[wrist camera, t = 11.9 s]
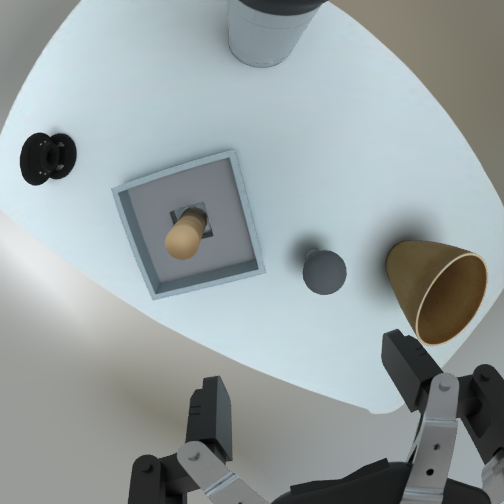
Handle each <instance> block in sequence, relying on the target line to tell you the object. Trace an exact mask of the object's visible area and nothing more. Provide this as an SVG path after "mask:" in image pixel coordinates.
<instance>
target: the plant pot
mask: <svg viewBox="0 0 504 504" xmlns="http://www.w3.org/2000/svg"><path fill="white" fill-rule="evenodd" d="M386 269H387V273H388V276H389V280H390V282H391V285H392V288H393V291H394V293H395V295H396V298H397V300H398V302H399V304H400V306H401V308H402V310H403V312H404V314H405V316H406V318H407V320H408V322H409V324H410V325H411V327H412V329H413V331H414V332H415V334H416V336H417V337H418V339H419V341H420V342H421V343H423V344H424V345H427V346H439V345H442V344H444V343H447V342H448V341H450V340H452V339H453V338H455V337H456V336H457V335H459V334H460V333H461V332H462V331H463V330H464V329H465V328H466V327H467V326H468V325H469V323H470V322H471V321H472V319H473V318H474V316H475V315H476V313H477V312H478V310H479V308H480V306H481V304H482V301H483V299H484V296H485V293H486V289H487V283H488V272H487V266H486V263H485V261H484V260H483V258H482V257H481V256H479V255H478V254H475V253H473V252H470V251H467V250H464V249H461V248H458V247H454V246H451V245H446V244H442V243H436V242H429V241H403V242H400V243H399V244H397V245H396V246H395V247H394V248H393V249H392V250H391V251H390V253H389V255H388V257H387V261H386Z"/></svg>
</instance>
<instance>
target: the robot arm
mask: <svg viewBox="0 0 504 504" xmlns="http://www.w3.org/2000/svg"><path fill="white" fill-rule="evenodd" d="M326 1H328V0H228V34H229V46H230V49H231V51H232V53H233V54H234V55H235V57H236V58H237V59H239V60H240V61H242V62H243V63H245V64H247V65H250V66H254V67H270V66H274V65H277V64H279V63H281V62H282V61H283V60H285V59H286V58H287V56H288V55H289V54H290V52H291V51H292V49H293V47H294V46H295V44H296V43H297V41H298V40H299V38H300V36H301V35H302V33H303V32H304V30H305V29H306V27H307V26H308V24H309V23H310V21H311V20H312V18H313V17H314V15H315V14H316V12H317V10H318V9H319V7H320V6H321V5H322V3H325V2H326ZM381 358H382V363H383V365H384V367H385V369H386V371H387V372H388V374H389V376H390V377H391V379H392V381H393V382H394V384H395V386H396V387H397V389H398V391H399V392H400V394H401V396H402V398H403V399H404V401H405V403H406V405H407V406H408V408H409V410H410V412H414V411H416V410H419V412H420V413H421V414H420V417H419V421H418V425H417V429H416V432H415V436H414V440H413V443H412V447H411V449H410V452H409V454H408V457H407V460H406V462H388V461H387V458H385V459H382V460H379V461H377V462H374V463H372V464H369V465H366V466H363V467H362V468H360V469H358V470H357V471H355V472H353V473H352V474H350V475H348V476H346V477H344V478H342V479H338V480H323V481H312V482H307V483H303V484H298V485H293V486H290V489H291V491H289V492H287V493H285V494H283V495H281V496H280V497H278V498H277V499H275V500H274V501H273V502H272V503H271V504H500V503H502V502H503V501H504V380H503V378H502V377H501V375H500V374H499V373H498V372H497V370H496V369H495V368H494V367H492V366H491V365H488V364H483V365H480V366H478V367H477V368H476V369H475V370H474V372H473V374H472V375H467V376H463V377H455V376H454V375H452V374H450V373H444V372H443V371H442V370H441V369H440V367H439V366H438V365H437V363H436V362H435V361H434V360H433V358H432V357H431V356H430V355H429V353H427V351H426V350H425V348H423V346H422V345H421V343H420V342H419V341H418V340H417V339H415V338H414V337H412V336H410V335H408V336H404V335H403V334H402V333H401V331H400V330H399V329H395V330H393V331H390V332H387V333H384V334H383V340H382V354H381ZM456 418H461V420H462V422H463V424H464V426H465V427H466V429H467V431H468V433H469V435H470V436H471V439H472V440H473V442H474V444H475V446H476V448H477V450H478V452H479V454H480V456H481V458H482V460H483V462H484V464H485V467H484V468H483V470H482V482H483V487H482V489H480V488H477V487H474V486H470V485H467V484H464V483H461V482H458V481H455V480H452V479H450V478H447V476H448V472H449V468H450V464H451V459H452V455H453V450H454V444H455V439H456V434H457V427H458V422H457V421H456ZM231 425H232V422H231V401H230V397H229V395H228V392H227V390H226V388H225V386H224V384H223V381H222V379H221V377H220V376H214V377H207V378H204V379H203V388H202V389H197V390H195V392H194V393H193V395H192V397H191V399H190V409H189V416H188V424H187V433H186V441H185V444H184V445H182V446H181V447H180V448H179V450H178V452H177V453H175V454H173V455H170V456H166V457H163V458H159V459H157V458H156V457H155V456H153V455H143V456H140V457H139V458H138V459H136V460H135V462H134V464H133V467H132V474H131V482H130V490H129V498H128V504H187V492H190V491H194V490H197V489H200V488H201V489H202V490H203V491H204V492H205V495H206V496H207V497H208V498H209V499H210V501H211V502H212V503H213V504H270V503H269V502H268V501H266V500H265V499H264V498H263V497H261V496H260V495H259V494H258V493H257V492H255V491H254V490H253V489H252V488H251V487H250V486H248V485H247V484H246V483H245V482H244V481H243V480H242V479H240V478H239V477H238V476H237V475H236V474H234V473H233V472H232V471H231V470H230V469H228V468H227V467H226V462H227V461H232V426H231Z"/></svg>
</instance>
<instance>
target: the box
mask: <svg viewBox="0 0 504 504" xmlns="http://www.w3.org/2000/svg"><path fill="white" fill-rule="evenodd" d="M111 190H112V193H113V197H114V200H115V203H116V206H117V209H118V212H119V215H120V218H121V221H122V224H123V227H124V230H125V232H126V235H127V238H128V241H129V243H130V246H131V249H132V251H133V254H134V257H135V259H136V262H137V264H138V267H139V269H140V272H141V274H142V277H143V279H144V281H145V284H146V286H147V288H148V291H149V293H150V295H151V298H152V300H156V299H161V298H165V297H169V296H174V295H178V294H182V293H187V292H191V291H195V290H199V289H204V288H208V287H212V286H216V285H220V284H224V283H228V282H232V281H237V280H241V279H245V278H249V277H253V276H257V275H261V274H264V273H266V270H265V266H264V262H263V258H262V254H261V251H260V247H259V243H258V239H257V235H256V231H255V227H254V223H253V219H252V215H251V211H250V207H249V203H248V199H247V195H246V192H245V188H244V184H243V180H242V176H241V172H240V168H239V164H238V161H237V157H236V153H235V149H233V150H229V151H226V152H222V153H218V154H214V155H211V156H207V157H204V158H200V159H197V160H194V161H190V162H187V163H184V164H180V165H177V166H174V167H171V168H168V169H165V170H162V171H159V172H156V173H153V174H150V175H147V176H144V177H142V178H139V179H136V180H133V181H131V182H128V183H125V184H123V185H120V186H117V187H115V188H112V189H111ZM202 202H204V205H205V209H206V212H207V215H208V219H209V222H210V226H211V229H212V232H210V233H206V234H203V236H202V238H201V241H200V244H199V247H198V250H197V252H196V254H195V255H194V256H193V257H191V258H190V259H187V260H178V259H176V258H174V257H172V256H171V255H170V254H169V253H168V251H167V250H166V247H165V239H166V236H167V234H168V233H169V232H170V230H171V229H172V228H173V226H174V225H175V224H176V222H177V219H176V216H175V213H174V210H178V209H181V208H185V207H188V206H191V205H195V204H198V203H202Z"/></svg>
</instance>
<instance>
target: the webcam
mask: <svg viewBox="0 0 504 504" xmlns="http://www.w3.org/2000/svg"><path fill="white" fill-rule="evenodd" d="M57 142H62V143H63V144H64V146H63V147H58V146H57V145H56V144H55V143H57ZM75 160H76V148H75V144H74V142H73V141H72V139H71V138H70V137H69V136H68V135H66V134H61V133H59V134H55V135H53V136H51V137H49V136H48V135H47V134H45V133H35V134H33V135H31V136H30V137H29V138H28V139H27V140H26V141H25V143H24V145H23V147H22V151H21V155H20V168H21V172H22V176H23V178H24V179H25V181H27V182H28V183H29V184H31V185H34V186H35V185H41V184H43V183H45V182H46V181H47V180H48V179H49V177H50V178H52V179H61V178H63V177H65V176H66V175H68V174H69V172H70V171H71V169H72V168H73V166H74V163H75ZM58 165H64V167H63V168H62V169H61V170H59V171H55V169H56V167H57V166H58Z"/></svg>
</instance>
